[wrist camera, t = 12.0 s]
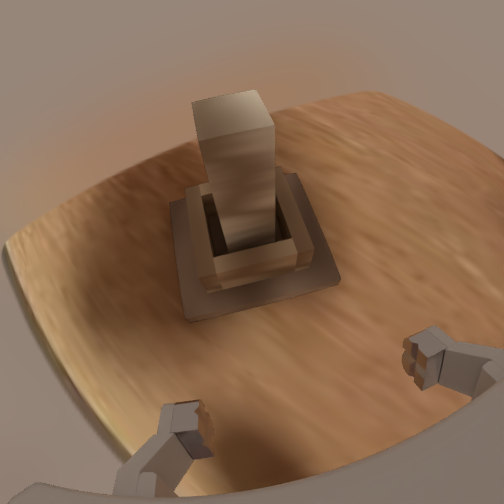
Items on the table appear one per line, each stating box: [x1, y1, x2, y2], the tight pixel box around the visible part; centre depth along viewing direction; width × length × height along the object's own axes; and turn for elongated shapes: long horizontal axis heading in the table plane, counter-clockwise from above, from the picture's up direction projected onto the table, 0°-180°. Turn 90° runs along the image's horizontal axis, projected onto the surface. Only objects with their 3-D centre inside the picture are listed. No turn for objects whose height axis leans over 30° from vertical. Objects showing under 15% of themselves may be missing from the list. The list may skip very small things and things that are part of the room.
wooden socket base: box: [170, 166, 341, 323], centre depth 23 cm, size 12×11×4 cm
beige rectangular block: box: [192, 90, 275, 254], centre depth 18 cm, size 4×4×12 cm
